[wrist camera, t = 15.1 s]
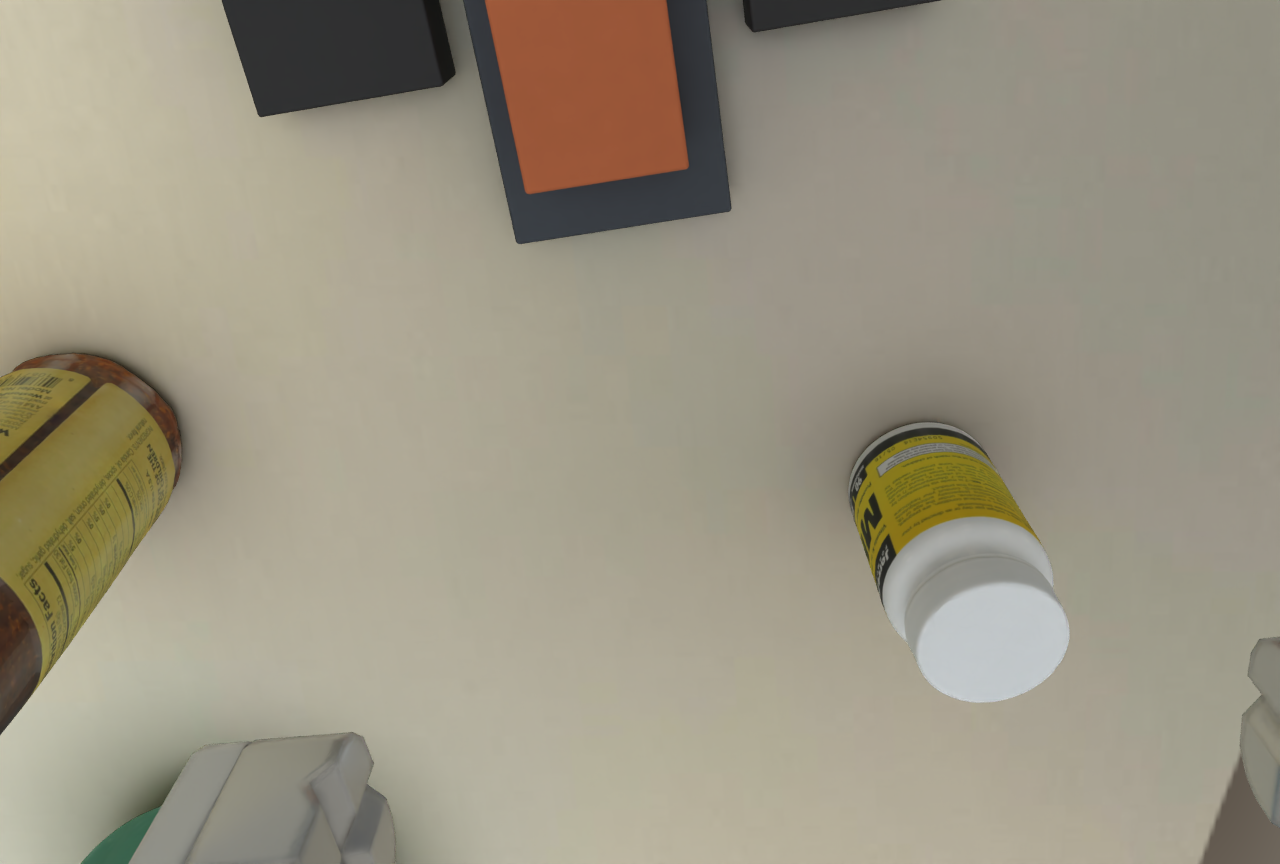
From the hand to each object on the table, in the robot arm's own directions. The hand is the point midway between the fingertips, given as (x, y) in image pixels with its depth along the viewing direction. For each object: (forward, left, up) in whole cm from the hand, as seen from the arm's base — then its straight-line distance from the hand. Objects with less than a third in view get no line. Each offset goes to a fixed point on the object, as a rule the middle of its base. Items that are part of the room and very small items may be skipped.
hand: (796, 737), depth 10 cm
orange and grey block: (+2, -4, -23) cm, 23 cm away
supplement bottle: (-6, +11, -23) cm, 26 cm away
